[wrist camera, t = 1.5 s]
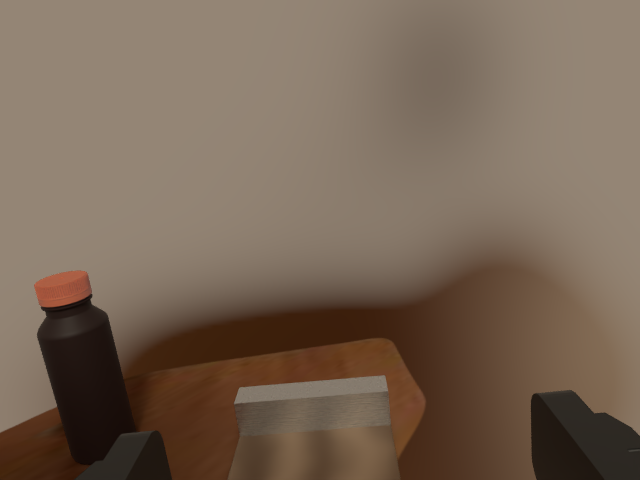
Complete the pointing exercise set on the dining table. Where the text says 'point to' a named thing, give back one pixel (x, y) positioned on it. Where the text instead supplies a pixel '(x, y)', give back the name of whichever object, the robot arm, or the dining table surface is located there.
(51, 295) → the bottle
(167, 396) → the dining table surface
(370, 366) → the dining table surface
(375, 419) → the metal rail
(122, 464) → the robot arm
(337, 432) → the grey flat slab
